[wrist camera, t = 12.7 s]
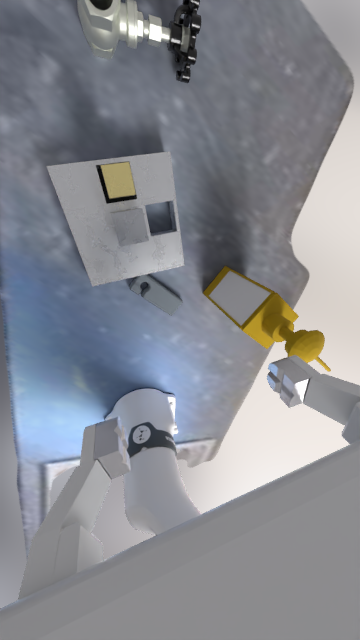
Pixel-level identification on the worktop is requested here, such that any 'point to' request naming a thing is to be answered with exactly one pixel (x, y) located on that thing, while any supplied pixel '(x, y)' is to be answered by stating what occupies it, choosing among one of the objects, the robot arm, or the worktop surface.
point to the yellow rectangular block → (118, 180)
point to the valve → (140, 29)
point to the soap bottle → (263, 315)
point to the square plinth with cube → (120, 218)
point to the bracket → (156, 294)
